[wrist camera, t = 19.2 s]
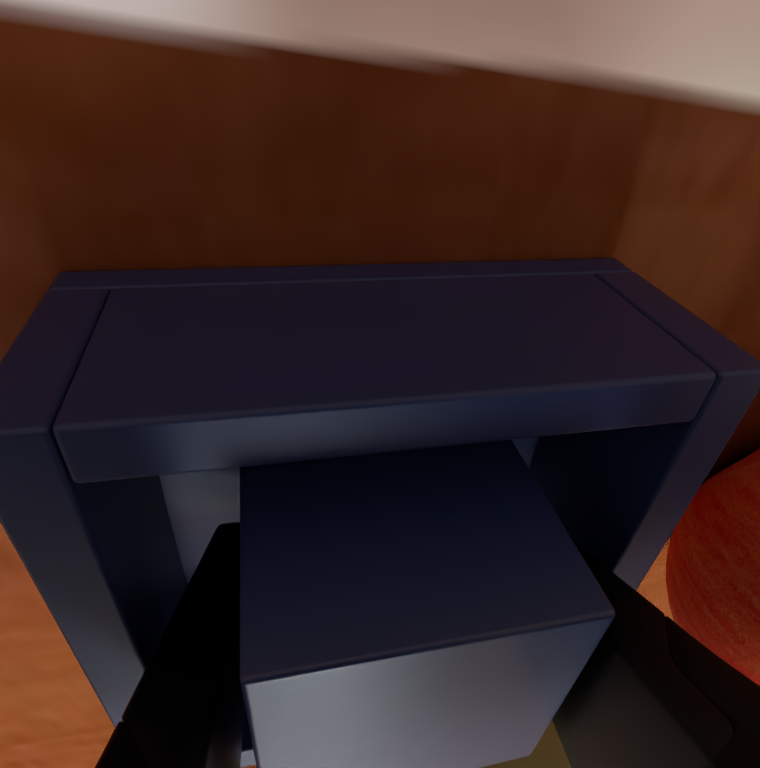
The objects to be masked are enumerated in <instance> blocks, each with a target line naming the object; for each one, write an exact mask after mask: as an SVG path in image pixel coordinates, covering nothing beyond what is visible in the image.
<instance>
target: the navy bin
mask: <svg viewBox="0 0 760 768" xmlns="http://www.w3.org/2000/svg"><path fill="white" fill-rule="evenodd" d="M759 391H760V361H759V360H757V359H756V358H754V357H753V356H752V355H750V354H749V353H747V352H746V351H745V350H743V349H742V348H740V347H739V346H738V345H736V344H735V343H733V342H732V341H731V340H729V339H728V338H726V337H725V336H724V335H722V334H721V333H719V332H718V331H717V330H715V329H714V328H712V327H711V326H710V325H708V324H707V323H705V322H704V321H702V320H701V319H700V318H698V317H697V316H695V315H694V314H693V313H691V312H690V311H688V310H687V309H686V308H684V307H683V306H681V305H680V304H679V303H677V302H676V301H674V300H673V299H672V298H670V297H669V296H667V295H666V294H665V293H663V292H662V291H660V290H659V289H657V288H656V287H655V286H653V285H652V284H650V283H649V282H648V281H646V280H645V279H643V278H642V277H641V276H639V275H638V274H636V273H635V272H631V270H630V269H629V268H627V267H626V266H625V265H623V264H622V263H620V262H619V261H618V260H616V259H614V258H604V259H564V260H524V261H484V262H444V263H404V264H364V265H324V266H284V267H244V268H204V269H164V270H124V271H84V272H61V273H59V274H58V275H57V277H56V278H55V280H54V281H53V283H52V285H51V286H50V288H49V291H47V292H46V293H45V295H44V296H43V298H42V299H41V301H40V302H39V304H38V306H37V307H36V309H35V310H34V312H33V313H32V315H31V316H30V318H29V320H28V321H27V323H26V324H25V326H24V327H23V329H22V330H21V332H20V333H19V335H18V337H17V338H16V340H15V341H14V343H13V344H12V346H11V347H10V349H9V351H8V352H7V354H6V355H5V357H4V358H3V360H2V361H1V363H0V522H1V524H2V526H3V527H4V529H5V531H6V533H7V535H8V536H9V538H10V540H11V542H12V544H13V545H14V547H15V549H16V551H17V553H18V554H19V556H20V558H21V560H22V562H23V563H24V565H25V567H26V569H27V571H28V572H29V574H30V576H31V578H32V580H33V581H34V583H35V585H36V587H37V589H38V590H39V592H40V594H41V596H42V597H43V599H44V601H45V603H46V605H47V606H48V608H49V610H50V612H51V614H52V615H53V617H54V619H55V621H56V623H57V624H58V626H59V628H60V630H61V632H62V633H63V635H64V637H65V639H66V641H67V642H68V644H69V646H70V648H71V650H72V651H73V653H74V655H75V657H76V658H77V660H78V662H79V664H80V666H81V667H82V669H83V671H84V673H85V675H86V676H87V678H88V680H89V682H90V684H91V685H92V687H93V689H94V691H95V693H96V694H97V696H98V698H99V700H100V702H101V703H102V705H103V707H104V709H105V711H106V712H107V714H108V716H109V718H110V719H111V721H112V723H113V725H114V727H115V728H116V726H117V724H118V723H119V722H120V721H123V720H122V718H121V717H122V714H123V712H124V710H125V708H126V706H127V704H128V702H129V700H130V698H131V697H132V695H133V693H134V691H135V689H136V687H137V685H138V683H139V681H140V679H141V677H142V675H143V673H144V671H145V669H146V667H147V665H148V663H149V661H150V659H151V657H152V655H153V653H154V651H155V649H156V647H157V645H158V643H159V641H160V639H161V637H162V635H163V633H164V631H165V629H166V627H167V625H168V623H169V621H170V619H171V617H172V615H173V613H174V611H175V609H176V607H177V605H178V603H179V601H180V599H181V597H182V595H183V593H184V591H185V589H186V587H187V585H188V583H189V581H190V579H191V577H192V575H193V573H194V572H195V570H196V568H197V566H198V564H199V562H200V560H201V558H202V556H203V554H204V552H205V550H206V548H207V546H208V544H209V542H210V540H211V538H212V536H213V534H214V532H215V530H216V528H217V527H218V526H219V525H220V524H223V523H232V522H240V467H248V466H258V465H268V464H277V463H287V462H297V461H307V460H317V459H326V458H336V457H346V456H356V455H366V454H375V453H385V452H395V451H405V450H415V449H424V448H434V447H444V446H454V445H464V444H473V443H483V442H493V441H503V440H512V441H513V443H514V445H515V446H516V448H517V449H518V451H519V453H520V454H521V456H522V458H523V459H524V461H525V463H526V464H527V466H528V468H529V469H530V471H531V473H532V474H533V476H534V478H535V479H536V481H537V482H538V484H539V486H540V487H541V489H542V491H543V492H544V494H545V496H546V497H547V499H548V501H549V502H550V504H551V506H552V507H553V509H554V511H555V512H556V514H557V515H558V517H559V519H560V520H561V522H562V524H563V525H564V527H565V529H566V530H567V532H568V534H569V535H570V537H571V539H573V540H574V541H575V542H576V543H578V544H579V545H580V546H581V547H583V548H584V549H585V550H586V551H587V552H589V553H590V554H591V555H592V556H594V557H595V558H596V559H597V560H599V561H600V562H601V563H602V564H603V565H605V566H606V567H607V568H608V569H610V570H611V571H612V572H613V573H615V574H616V575H617V576H618V577H620V578H621V579H622V580H623V581H624V582H626V583H627V584H628V585H629V586H631V587H632V588H633V589H634V590H637V588H638V586H639V585H640V583H641V582H642V580H643V578H644V577H645V575H646V574H647V572H648V570H649V569H650V567H651V565H652V564H653V562H654V561H655V559H656V557H657V556H658V554H659V553H660V551H661V549H662V548H663V546H664V544H665V543H666V541H667V540H668V538H669V536H670V535H671V533H672V532H673V530H674V528H675V527H676V525H677V523H678V522H679V520H680V519H681V517H682V515H683V514H684V512H685V511H686V509H687V507H688V506H689V504H690V502H691V501H692V499H693V498H694V496H695V494H696V493H697V491H698V490H699V488H700V486H701V485H702V483H703V481H704V480H705V478H706V477H707V475H708V473H709V472H710V470H711V468H712V467H713V465H714V464H715V462H716V460H717V459H718V457H719V456H720V454H721V452H722V451H723V449H724V447H725V446H726V444H727V443H728V441H729V439H730V438H731V436H732V435H733V433H734V431H735V430H736V428H737V426H738V425H739V423H740V422H741V420H742V418H743V417H744V415H745V414H746V412H747V410H748V409H749V407H750V405H751V404H752V402H753V401H754V399H755V397H756V396H757V394H758V393H759ZM255 764H256V761H255V756H254V751H253V746H252V741H251V735H250V730H249V725H248V720H247V715H246V709H245V713H244V726H243V738H242V751H241V763H240V768H241V767H246V766H251V765H255Z"/></svg>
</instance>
